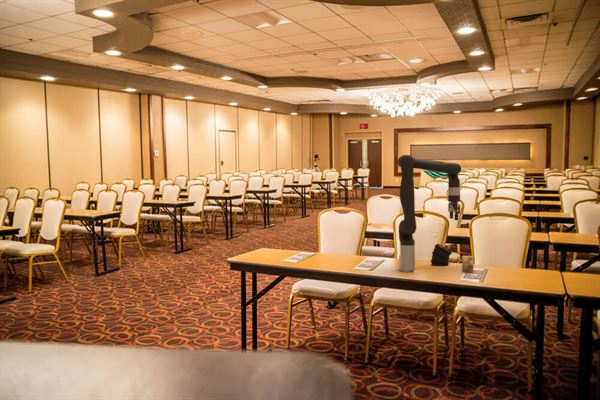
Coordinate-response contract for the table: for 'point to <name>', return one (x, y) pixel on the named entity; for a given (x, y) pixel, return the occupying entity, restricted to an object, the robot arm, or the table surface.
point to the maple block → (467, 260)
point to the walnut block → (467, 268)
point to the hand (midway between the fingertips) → (453, 219)
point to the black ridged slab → (440, 256)
